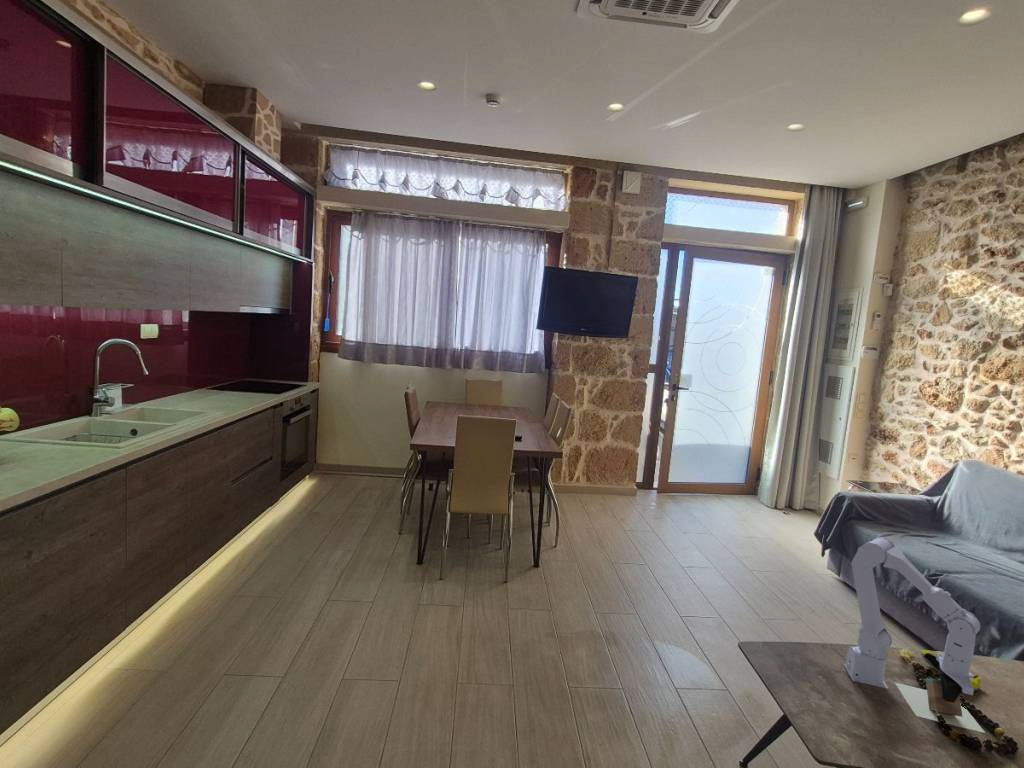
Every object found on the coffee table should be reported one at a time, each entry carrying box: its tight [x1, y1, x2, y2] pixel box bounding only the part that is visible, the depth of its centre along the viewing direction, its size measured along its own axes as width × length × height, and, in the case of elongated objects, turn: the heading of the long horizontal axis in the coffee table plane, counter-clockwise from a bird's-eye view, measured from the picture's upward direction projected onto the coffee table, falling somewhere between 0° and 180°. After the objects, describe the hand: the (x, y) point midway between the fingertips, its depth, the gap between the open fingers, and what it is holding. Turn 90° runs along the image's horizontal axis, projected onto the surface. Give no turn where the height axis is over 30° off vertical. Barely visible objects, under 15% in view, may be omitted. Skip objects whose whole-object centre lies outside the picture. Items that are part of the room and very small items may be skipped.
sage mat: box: [894, 682, 986, 734], centre depth 146 cm, size 16×14×1 cm
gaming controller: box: [920, 649, 983, 692], centre depth 159 cm, size 15×6×10 cm
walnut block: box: [925, 677, 962, 717], centre depth 143 cm, size 6×4×8 cm
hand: (948, 700), depth 141 cm, fingers closed
